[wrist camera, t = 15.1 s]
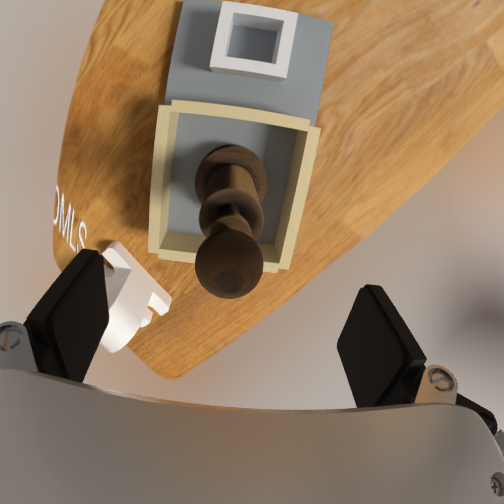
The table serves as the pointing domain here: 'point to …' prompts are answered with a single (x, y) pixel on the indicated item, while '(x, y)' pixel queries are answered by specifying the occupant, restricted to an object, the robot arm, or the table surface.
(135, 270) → the cable organizer
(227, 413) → the robot arm
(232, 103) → the socket board
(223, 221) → the brown pepper mill
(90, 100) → the table surface
